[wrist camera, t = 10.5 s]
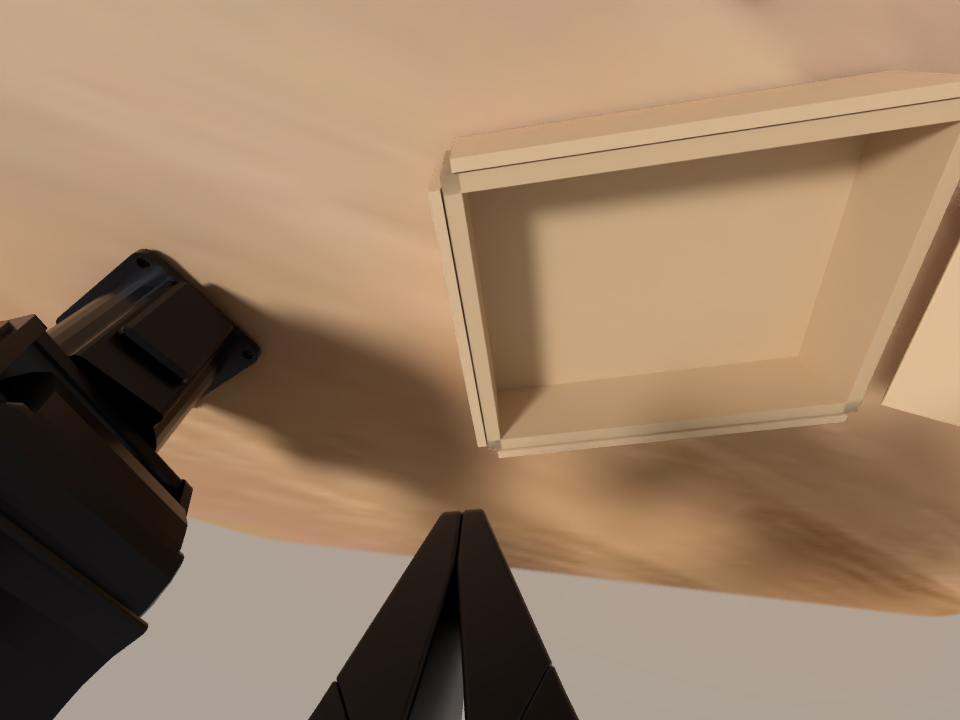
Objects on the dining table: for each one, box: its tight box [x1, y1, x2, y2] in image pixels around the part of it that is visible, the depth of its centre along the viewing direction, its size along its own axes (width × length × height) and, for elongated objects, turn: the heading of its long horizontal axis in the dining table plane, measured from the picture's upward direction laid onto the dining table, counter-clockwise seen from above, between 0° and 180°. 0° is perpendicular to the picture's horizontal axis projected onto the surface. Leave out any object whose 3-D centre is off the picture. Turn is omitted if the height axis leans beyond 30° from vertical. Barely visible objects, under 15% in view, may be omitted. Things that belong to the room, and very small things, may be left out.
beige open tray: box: [427, 70, 960, 458], centre depth 18 cm, size 16×13×4 cm
